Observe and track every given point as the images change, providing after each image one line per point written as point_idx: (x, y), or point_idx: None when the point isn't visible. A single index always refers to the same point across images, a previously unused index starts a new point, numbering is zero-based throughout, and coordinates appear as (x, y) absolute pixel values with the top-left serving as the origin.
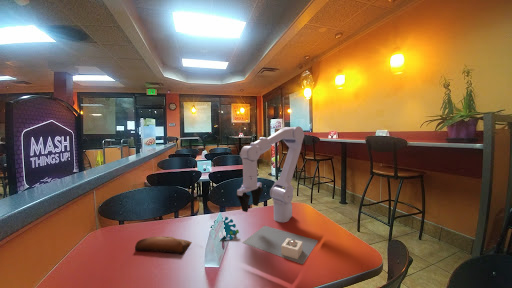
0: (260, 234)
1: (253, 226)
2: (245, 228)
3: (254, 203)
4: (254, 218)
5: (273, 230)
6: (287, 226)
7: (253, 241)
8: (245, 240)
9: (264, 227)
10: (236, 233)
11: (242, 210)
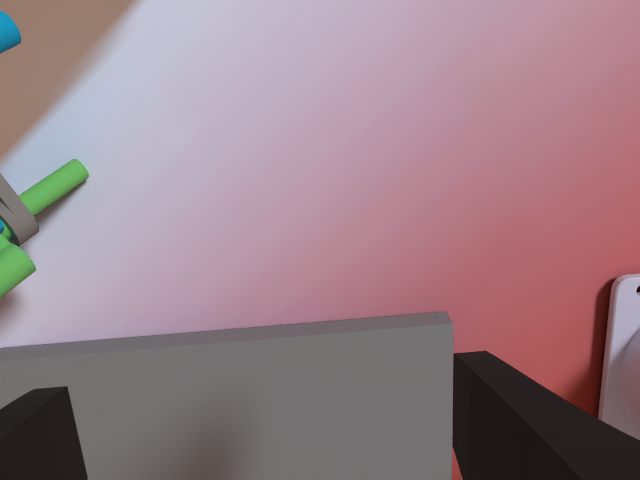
0: (247, 406)
1: (406, 183)
2: (304, 135)
3: (467, 407)
4: (624, 37)
5: (403, 454)
6: None
7: (90, 432)
8: (43, 364)
9: (410, 348)
10: (15, 244)
11: (21, 400)
